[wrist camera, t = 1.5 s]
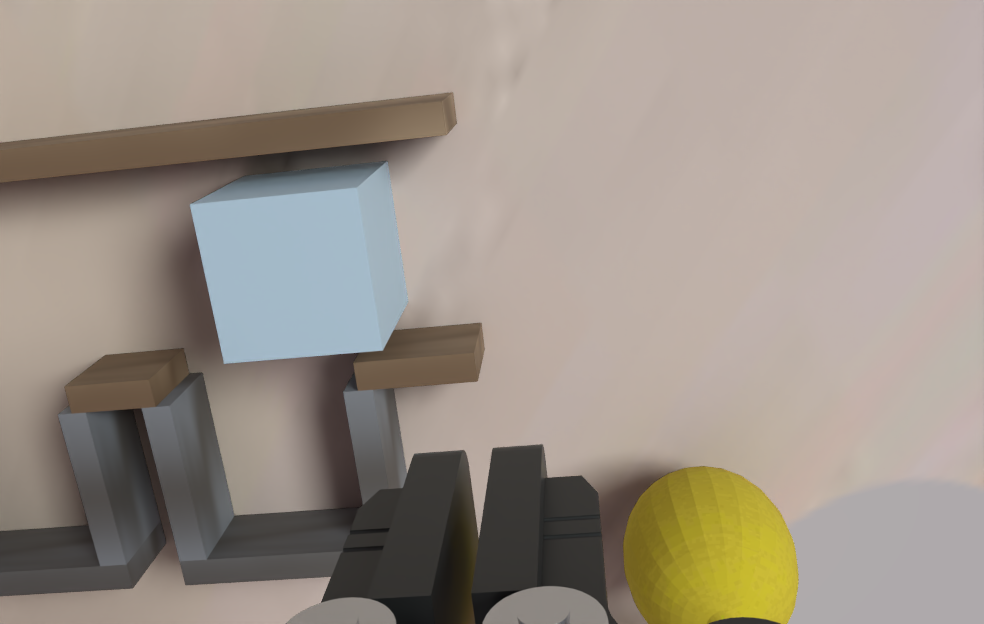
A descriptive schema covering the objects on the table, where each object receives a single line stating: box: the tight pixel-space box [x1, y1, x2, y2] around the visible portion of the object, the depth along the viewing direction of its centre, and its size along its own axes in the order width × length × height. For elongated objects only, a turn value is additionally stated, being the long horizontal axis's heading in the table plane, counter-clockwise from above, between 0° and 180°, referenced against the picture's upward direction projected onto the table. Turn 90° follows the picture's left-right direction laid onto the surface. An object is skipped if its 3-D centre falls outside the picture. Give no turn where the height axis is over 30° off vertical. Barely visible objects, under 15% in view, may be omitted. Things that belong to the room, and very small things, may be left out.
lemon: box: [623, 466, 798, 624], centre depth 30 cm, size 6×6×8 cm
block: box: [190, 161, 408, 364], centre depth 30 cm, size 5×5×5 cm
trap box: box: [0, 93, 485, 596], centre depth 33 cm, size 16×29×3 cm, turn 97°
